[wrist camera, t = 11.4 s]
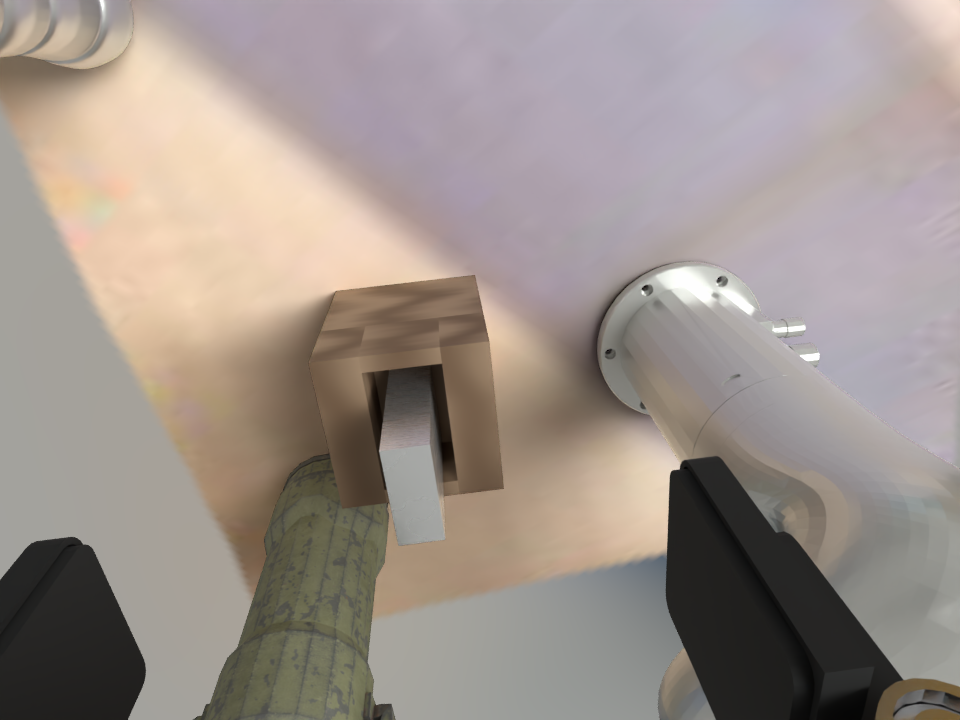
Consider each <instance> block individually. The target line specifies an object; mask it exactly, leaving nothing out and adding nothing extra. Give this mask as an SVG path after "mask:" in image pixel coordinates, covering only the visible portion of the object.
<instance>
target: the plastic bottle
mask: <svg viewBox="0 0 960 720" xmlns="http://www.w3.org/2000/svg"><path fill="white" fill-rule="evenodd" d="M133 25H134V18H133V9H132V5H131V1H130V0H0V57H10V56H26V57H32V58H38V59H41V60H44V61H46V62H49V63H52V64H55V65H60V66H64V67H69V68H74V69H91V68H95V67H99V66H101V65H103V64H106V63H108V62H110V61H112V60H113V59H115V58H117V57H118V56H119V55H120V54H121V53H122V52H124V50H125V49H126V47H127V46H128V44H129V42H130V39H131V36H132V33H133Z"/></svg>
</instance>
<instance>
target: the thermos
mask: <svg viewBox="0 0 960 720" xmlns="http://www.w3.org/2000/svg"><path fill="white" fill-rule="evenodd" d="M387 507H388V503H384V504H376V505H368V506H360V507H352V508H344V509H342V505H341V501H340V496H339V492H338V488H337V484H336V479H335V475H334V471H333V467H332V462H331V458H330V454H327V455H321V456H316V457H313V458H311V459H309V460H307V461H305V462H303V463H301V464H300V465H299V466H298V467H297V468H296V469H295V470H294V471H293V472H292V473H291V474H290V475H289V477H288V479H287V482H286V484H285V486H284V489H283V492H282V493H281V495H280V497H279V500H278V502H277V504H276V506H275V509H274V512H273V515H272V518H271V521H270V524H269V527H268V530H267V533H266V536H265V539H264V543H265V549H266V555H267V557H266V561H265V564H264V567H263V570H262V573H261V576H260V579H259V582H258V585H257V588H256V592H255V595H254V598H253V601H252V604H251V607H250V610H249V613H248V616H247V620H246V623H245V626H244V629H243V632H242V635H241V638H240V641H239V644H238V647H237V649H236V650H235V651H234V652H233V653H232V654H231V655H230V656H229V657H228V658H227V660H226V662H225V664H224V667H223V669H222V671H221V673H220V676H219V679H218V682H217V685H216V688H215V691H214V693H213V696H212V699H211V702H210V704H206V706H205V709H204V712H203V714H202V716H198V717H196V718H195V719H194V720H395V716H394V713H393V708H392V705H391V704H379V705H376V704H375V701H374V698H373V696H372V694H373V683H374V679H373V677H372V674H371V671H370V668H369V665H368V651H369V642H370V631H371V622H372V612H373V601H374V591H375V581H376V577H377V575H378V574H379V572H380V570H381V568H382V566H383V565H384V562H385V552H386V543H387V532H388V520H389V513H388V510H387Z"/></svg>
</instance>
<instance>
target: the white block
mask: <svg viewBox="0 0 960 720" xmlns="http://www.w3.org/2000/svg"><path fill="white" fill-rule="evenodd" d="M379 453H380V457H381V462H382V467H383V472H384V477H385V482H386V487H387V492H388V497H389V501H390V506H391V511H392V516H393V521H394V526H395V531H396V536H397V541H398V545H399V546H401V545H409V544H416V543H424V542H431V541H439V540H445V515H444V488H443V461H442V438H441V431H440V425H439V418H438V412H437V405H436V399H435V392H434V386H433V379H432V373H431V366H430V365H426V366H417V367H409V368H401V369H392V370H389V376H388V384H387V392H386V400H385V408H384V417H383V425H382V433H381V441H380V449H379Z"/></svg>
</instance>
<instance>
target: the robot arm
mask: <svg viewBox="0 0 960 720" xmlns="http://www.w3.org/2000/svg"><path fill="white" fill-rule="evenodd" d="M719 277H720V279H719V280H717V279H718V278H719ZM644 285H647V286H646V288H645V289H642V287H643V286H644ZM804 332H805V323H804V320H803V319H802V318H800V317H796V318H788V319H782V320H778V321H771V320H770V319H769V318H767V317H766V316H764V315H763V314H762V313H761V309H760V305H759V303H758V301H757V299H756V297H755V296H754V294H753V292H752V291H751V290H750V289H749V287H748V286H747V285H746V284H745V283H744V282H743V281H742V280H741V279H739V278H738V277H737V276H735V275H734V274H732V273H731V272H729V271H727V270H725V269H723V268H721V267H719V266H716V265H712V264H709V263H705V262H691V261H688V262H679V263H672V264H669V265H665V266H662V267H659V268H656V269H654V270H652V271H650V272H648V273H646V274H644V275H642V276H641V277H639V278H638V279H637V280H635V281H634V282H632V283H631V284H630V285H628V286H627V287H626V288H625V289H624V290H623V291H622V293H621V294H620V295H619V296H618V297H617V298H616V299H615V301H614V302H613V304H612V305H611V306H610V308H609V309H608V311H607V313H606V315H605V318H604V320H603V322H602V324H601V328H600V332H599V336H598V343H597V356H598V362H599V367H600V370H601V372H602V375H603V377H604V379H605V381H606V383H607V384H608V386H609V388H610V389H611V391H612V392H613V393H614V394H615V395H616V396H617V398H618V399H619V400H620V401H622V402H623V403H625V404H626V405H627V406H629V407H630V408H632V409H634V410H636V411H638V412H640V413H643V414H648V415H651V417H652V419H653V420H654V422H655V424H656V425H657V427H658V428H659V430H660V432H661V433H662V435H663V436H664V438H665V440H666V441H667V443H668V444H669V446H670V448H671V449H672V451H673V452H674V454H675V456H676V457H677V459H678V460H679V462H680V464H681V465H680V470H673V471H671V474H670V488H669V515H668V543H667V571H666V600H667V605H668V609H669V613H670V615H671V618H672V620H673V623H674V625H675V627H676V629H677V632H678V634H679V636H680V638H681V641H682V643H683V646H684V648H683V649H682V650H681V651H680V653H679V654H678V655H677V656H676V657H675V658H674V659H673V661H672V662H671V664H670V665H669V667H668V669H667V671H666V673H665V675H664V677H663V679H662V682H661V685H660V689H659V697H658V711H659V718H660V720H960V468H958V467H956V466H954V465H953V464H951V463H949V462H947V461H945V460H944V459H942V458H940V457H938V456H936V455H935V454H933V453H932V452H930V451H928V450H927V449H925V448H923V447H922V446H920V445H919V444H917V443H915V442H914V441H912V440H910V439H909V438H907V437H906V436H904V435H903V434H901V433H900V432H898V431H897V430H896V429H894V428H893V427H891V426H890V425H889V424H887V423H886V422H884V421H883V420H882V419H880V418H879V417H878V416H876V415H875V414H873V413H872V412H871V411H869V410H868V409H867V408H865V407H864V406H863V405H862V404H860V403H859V402H858V401H857V400H855V399H854V398H853V397H851V396H850V395H849V394H848V393H846V392H845V391H844V390H843V389H841V388H840V387H839V386H837V385H836V384H835V383H834V382H832V381H831V380H830V379H829V378H827V377H826V376H825V375H824V374H822V373H821V372H820V371H819V370H817V369H816V367H817V365H818V363H819V353H818V350H817V347H816V346H815V345H814V344H812V343H804V344H796V345H788V346H787V345H786V344H785V343H784V342H782V341H781V340H780V339H779V338H780V337H784V338H787V337H795V336H802V335H803V334H804ZM608 349H610V351H608V352H606V351H607V350H608ZM145 673H146V668H145V662H144V659H143V657H142V654H141V652H140V650H139V648H138V646H137V644H136V642H135V639H134V637H133V635H132V633H131V631H130V628H129V626H128V624H127V622H126V620H125V618H124V615H123V613H122V611H121V609H120V607H119V604H118V602H117V600H116V598H115V596H114V594H113V592H112V589H111V587H110V585H109V583H108V581H107V579H106V576H105V575H104V572H103V570H102V568H101V565H100V564H99V561H98V559H97V557H96V555H95V552H94V551H93V549H92V548H91V547H90V546H89V545H83V544H82V542H81V541H80V540H79V539H77V538H75V537H68V538H59V539H52V540H44V541H36V542H34V543H31V544H30V545H29V546H28V547H27V548H26V549H25V550H24V551H23V553H22V554H21V555H20V557H19V558H18V559H17V560H16V561H15V562H14V564H13V565H12V566H11V567H10V569H9V570H8V571H7V572H6V574H5V575H4V576H3V577H2V579H1V580H0V720H128V718H129V716H130V713H131V711H132V709H133V707H134V704H135V702H136V700H137V698H138V696H139V693H140V691H141V689H142V686H143V684H144V681H145V675H146V674H145Z"/></svg>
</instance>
